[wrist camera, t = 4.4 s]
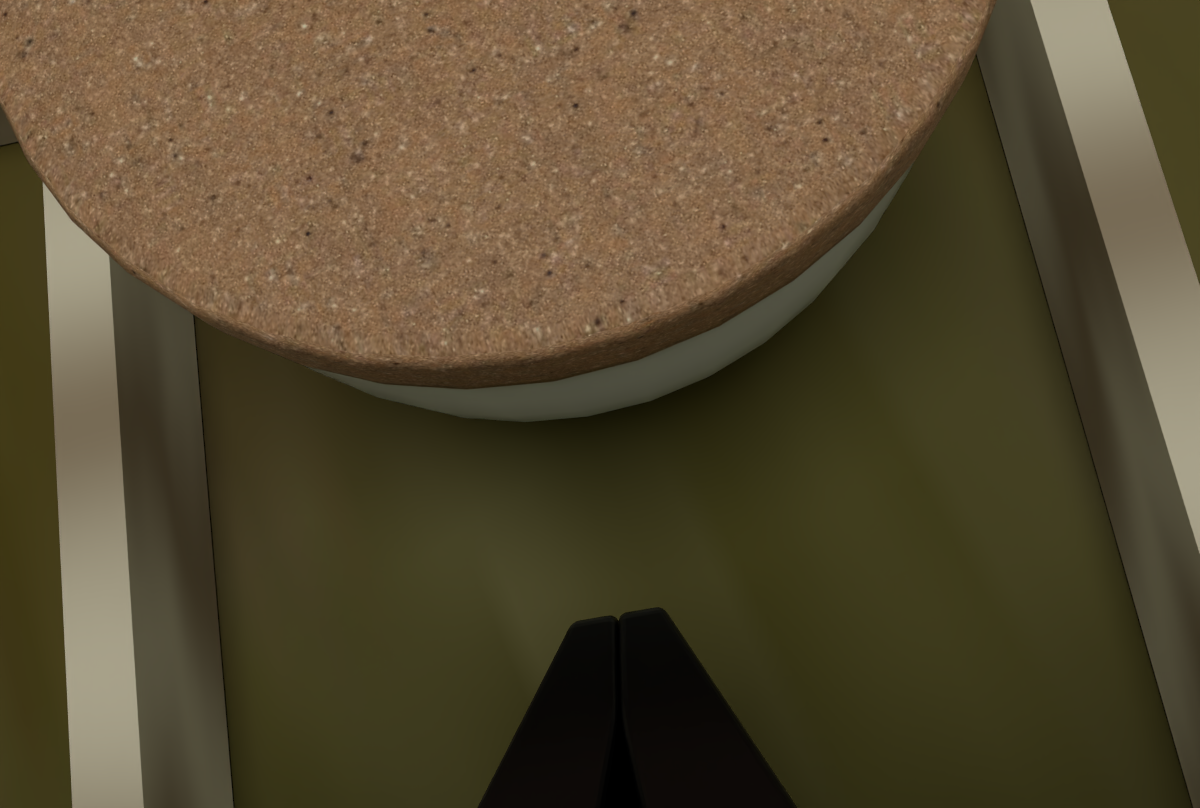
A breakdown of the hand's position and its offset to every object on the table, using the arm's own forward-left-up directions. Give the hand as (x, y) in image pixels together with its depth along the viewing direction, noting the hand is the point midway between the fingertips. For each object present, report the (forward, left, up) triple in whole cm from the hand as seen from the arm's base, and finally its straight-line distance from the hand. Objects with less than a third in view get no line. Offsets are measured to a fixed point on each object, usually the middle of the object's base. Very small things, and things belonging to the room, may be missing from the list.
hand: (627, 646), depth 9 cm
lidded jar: (+8, 0, -7) cm, 11 cm away
